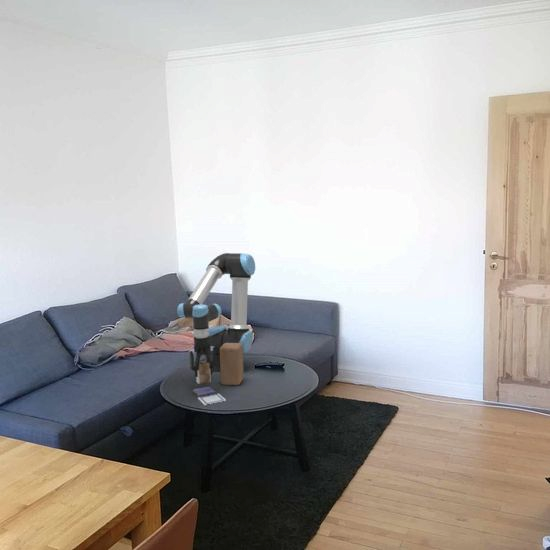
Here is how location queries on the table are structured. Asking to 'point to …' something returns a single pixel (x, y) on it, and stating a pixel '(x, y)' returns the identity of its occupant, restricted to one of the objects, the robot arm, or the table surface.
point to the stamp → (204, 372)
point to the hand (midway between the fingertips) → (203, 381)
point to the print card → (211, 399)
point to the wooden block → (231, 363)
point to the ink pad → (204, 391)
